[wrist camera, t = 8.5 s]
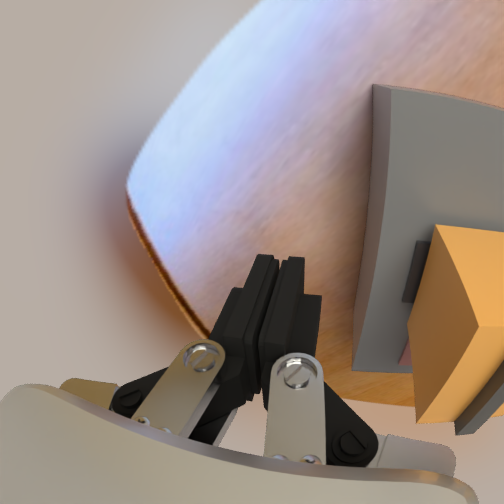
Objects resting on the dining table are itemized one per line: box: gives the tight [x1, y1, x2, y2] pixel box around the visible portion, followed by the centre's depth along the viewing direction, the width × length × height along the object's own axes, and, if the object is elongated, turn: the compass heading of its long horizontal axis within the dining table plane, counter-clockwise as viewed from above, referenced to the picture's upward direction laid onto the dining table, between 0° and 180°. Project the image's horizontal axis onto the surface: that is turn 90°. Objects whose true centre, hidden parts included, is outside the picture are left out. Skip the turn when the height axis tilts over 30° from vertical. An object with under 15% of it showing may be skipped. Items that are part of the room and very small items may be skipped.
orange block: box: [407, 224, 504, 435], centre depth 8 cm, size 4×5×6 cm
